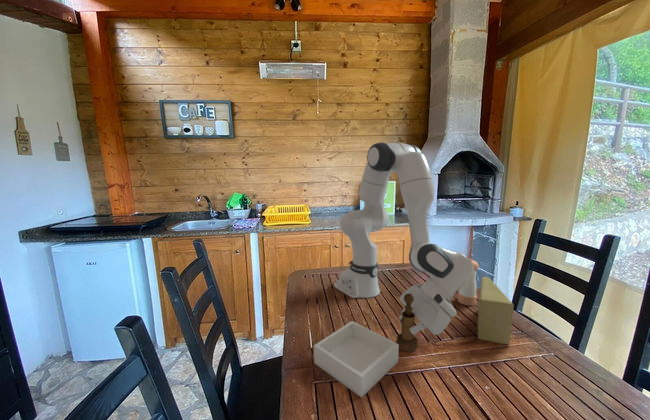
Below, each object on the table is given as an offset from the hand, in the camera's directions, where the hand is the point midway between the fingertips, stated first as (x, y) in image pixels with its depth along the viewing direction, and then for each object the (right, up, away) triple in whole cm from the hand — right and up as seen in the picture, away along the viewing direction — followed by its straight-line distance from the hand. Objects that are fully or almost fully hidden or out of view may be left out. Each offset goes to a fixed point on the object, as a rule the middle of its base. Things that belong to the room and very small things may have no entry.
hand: (405, 326), depth 91 cm
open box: (-17, -8, -6) cm, 20 cm away
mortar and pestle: (+1, -7, +1) cm, 7 cm away
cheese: (+34, -5, +12) cm, 36 cm away
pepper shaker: (+35, -2, +29) cm, 45 cm away
